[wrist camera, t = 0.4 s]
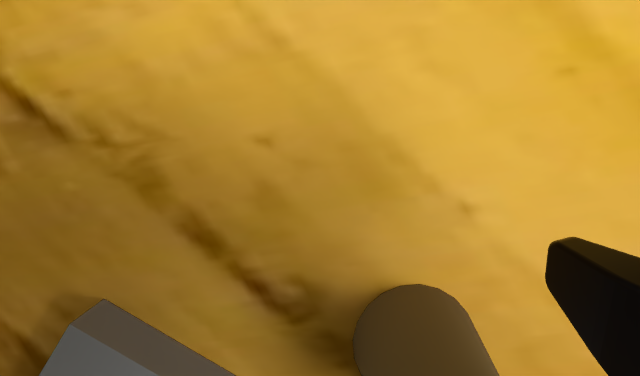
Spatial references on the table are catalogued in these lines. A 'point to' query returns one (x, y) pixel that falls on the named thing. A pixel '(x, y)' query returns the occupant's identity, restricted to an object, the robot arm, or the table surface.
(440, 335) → the brown pawn
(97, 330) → the socket plate
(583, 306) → the robot arm
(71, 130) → the table surface
